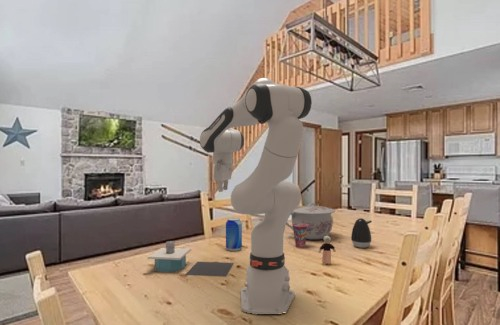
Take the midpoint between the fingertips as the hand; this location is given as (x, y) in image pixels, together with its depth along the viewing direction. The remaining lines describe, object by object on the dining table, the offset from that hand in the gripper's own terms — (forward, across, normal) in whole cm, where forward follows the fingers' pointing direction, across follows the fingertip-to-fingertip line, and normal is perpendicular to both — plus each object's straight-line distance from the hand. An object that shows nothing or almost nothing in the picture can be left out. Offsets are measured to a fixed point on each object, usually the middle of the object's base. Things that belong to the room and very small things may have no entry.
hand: (223, 190), depth 142 cm
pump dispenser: (+33, +36, -67) cm, 83 cm away
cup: (+33, +33, -35) cm, 59 cm away
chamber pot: (+33, +55, -42) cm, 77 cm away
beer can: (+33, +24, 0) cm, 41 cm away
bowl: (+33, -8, +22) cm, 40 cm away
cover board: (+27, -8, +22) cm, 36 cm away
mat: (+33, -8, +4) cm, 34 cm away
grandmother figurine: (+33, +5, -46) cm, 57 cm away
